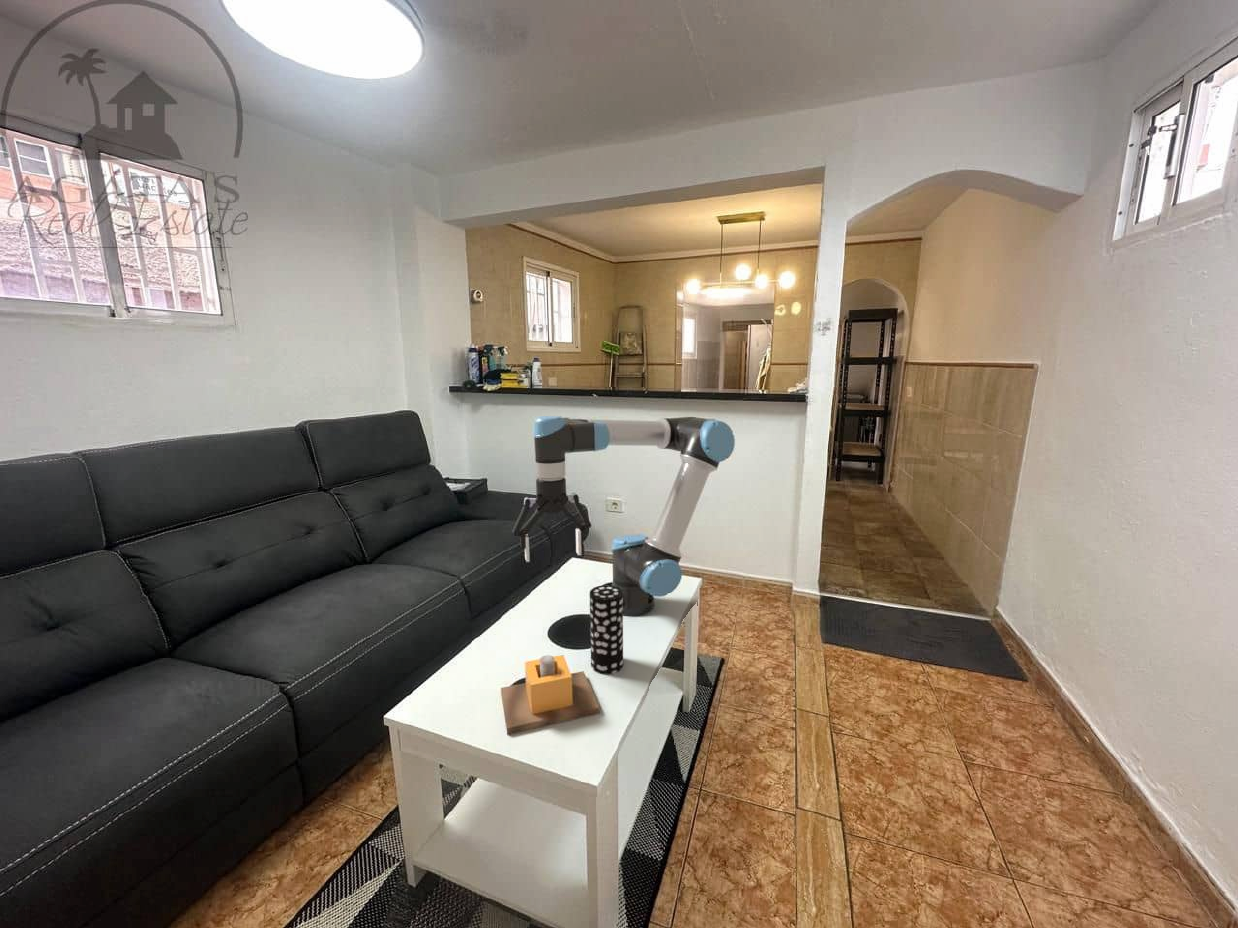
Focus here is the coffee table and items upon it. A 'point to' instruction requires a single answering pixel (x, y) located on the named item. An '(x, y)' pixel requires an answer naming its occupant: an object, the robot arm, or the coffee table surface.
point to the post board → (523, 719)
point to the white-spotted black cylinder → (606, 629)
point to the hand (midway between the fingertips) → (553, 556)
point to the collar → (548, 686)
